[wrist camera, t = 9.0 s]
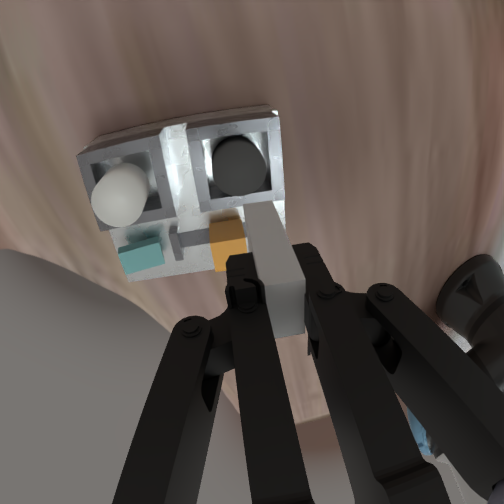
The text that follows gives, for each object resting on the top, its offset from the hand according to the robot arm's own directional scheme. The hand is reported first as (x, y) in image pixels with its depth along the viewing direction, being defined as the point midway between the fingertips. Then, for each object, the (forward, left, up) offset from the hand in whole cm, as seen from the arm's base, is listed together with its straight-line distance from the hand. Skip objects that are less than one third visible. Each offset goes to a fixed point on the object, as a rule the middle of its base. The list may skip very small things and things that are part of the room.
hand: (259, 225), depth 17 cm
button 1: (0, +9, -9) cm, 13 cm away
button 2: (0, 0, -11) cm, 11 cm away
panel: (-4, +5, -16) cm, 17 cm away
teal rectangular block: (-7, +10, -11) cm, 16 cm away
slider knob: (-7, +2, -12) cm, 14 cm away
